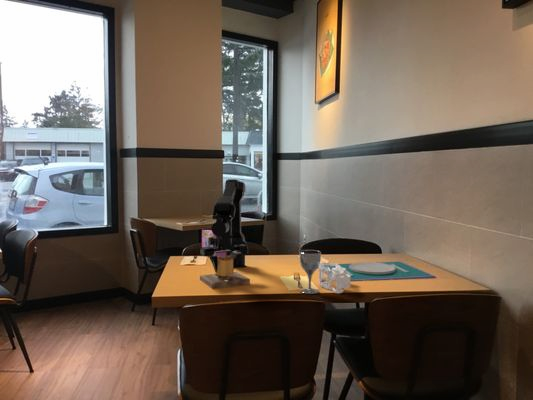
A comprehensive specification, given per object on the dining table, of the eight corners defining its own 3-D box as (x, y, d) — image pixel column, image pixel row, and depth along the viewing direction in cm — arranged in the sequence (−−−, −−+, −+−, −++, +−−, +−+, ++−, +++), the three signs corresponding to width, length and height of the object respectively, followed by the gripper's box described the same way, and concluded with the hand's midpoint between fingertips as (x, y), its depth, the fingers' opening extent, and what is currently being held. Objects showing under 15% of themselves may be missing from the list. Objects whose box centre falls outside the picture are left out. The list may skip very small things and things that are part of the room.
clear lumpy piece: (351, 293, 166) (352, 274, 166) (322, 293, 167) (322, 273, 166) (343, 279, 186) (344, 262, 186) (317, 279, 187) (317, 262, 186)
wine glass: (305, 287, 174) (306, 248, 173) (324, 290, 170) (324, 251, 169) (295, 291, 168) (295, 252, 167) (313, 295, 163) (314, 254, 162)
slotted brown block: (236, 276, 191) (236, 256, 190) (249, 284, 178) (249, 262, 178) (199, 280, 184) (199, 259, 183) (211, 288, 171) (211, 266, 171)
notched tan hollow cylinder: (229, 271, 185) (229, 256, 185) (235, 274, 179) (235, 259, 179) (213, 272, 182) (213, 258, 182) (219, 276, 176) (219, 261, 176)
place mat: (400, 262, 224) (400, 258, 223) (435, 277, 194) (435, 272, 194) (313, 266, 214) (313, 261, 214) (337, 282, 185) (337, 277, 184)
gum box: (200, 252, 244) (200, 229, 243) (213, 251, 247) (213, 228, 246) (212, 260, 224) (212, 234, 223) (226, 258, 227) (226, 234, 226)
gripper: (237, 228, 191) (237, 264, 192) (195, 231, 182) (195, 269, 184) (248, 232, 181) (248, 270, 182) (204, 235, 173) (204, 275, 174)
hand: (224, 271), depth 181 cm, fingers closed on notched tan hollow cylinder, 7 cm apart
